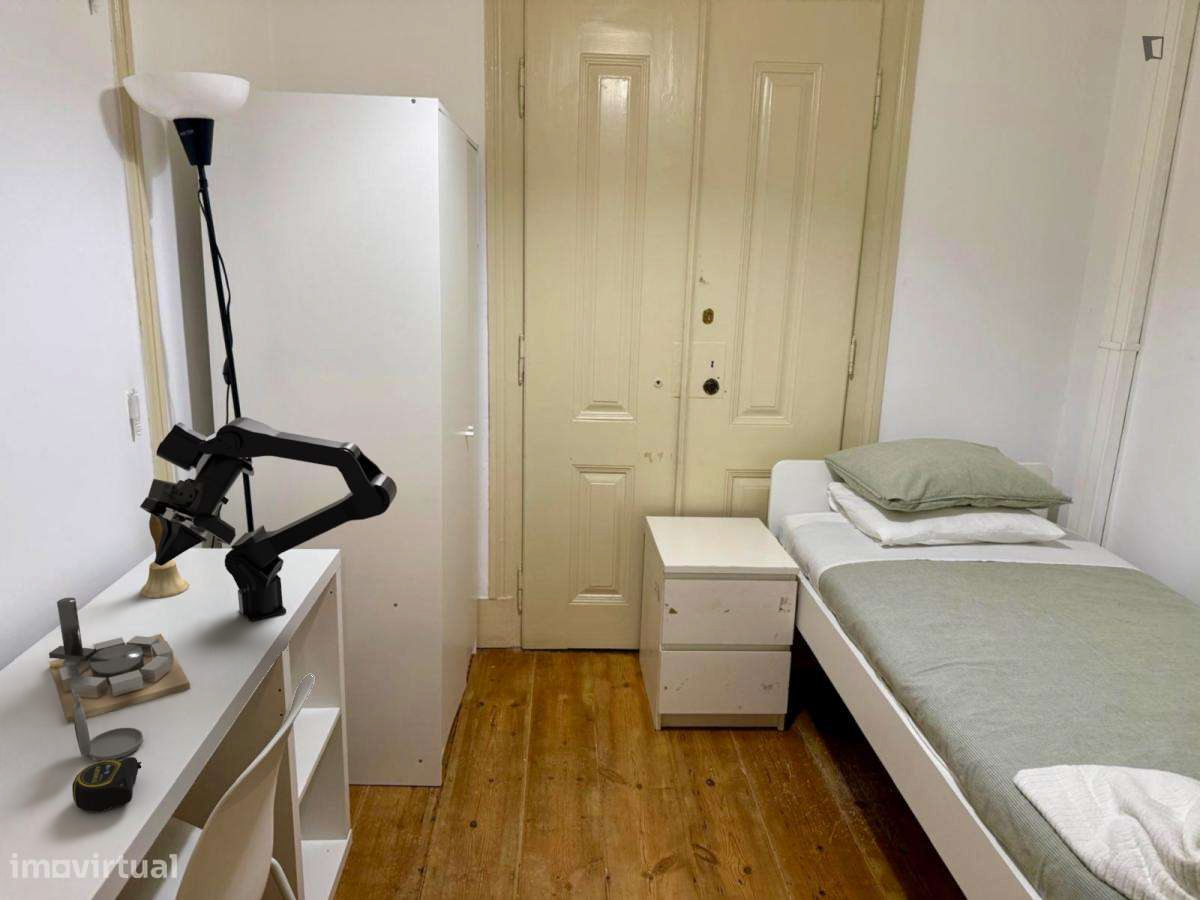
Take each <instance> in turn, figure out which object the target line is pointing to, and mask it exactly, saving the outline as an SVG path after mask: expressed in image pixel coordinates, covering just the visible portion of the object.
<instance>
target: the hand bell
mask: <svg viewBox="0 0 1200 900" xmlns="http://www.w3.org/2000/svg"><path fill="white" fill-rule="evenodd" d="M148 527H149V532H150V535H151V538H152V540H153V541H154V542H153V543H154V547H155V549H154V550H155V555H156V554H157V551H158V547H159V544H160V540H161V536H162V526H161V522H160V520H158V518H156V517H155V516H153V515H152V514H150V517H149V522H148ZM148 568H149V569H148V577H147V580H146V582H145V584H144V585H143V586H142V588H141V589H140V594H141V596H143V597H145V598H148V599H165V598H171V597H175V596H177V595H180V594H182V593H184V592H186V591H187V590H188V589H189V587H190V583H189V582H188V581H187V579H185V578H183V577H182V576H181V574H180V572H179V570H178V567H177V563H176V561H175V560H174V559H172V560H170V561H169V562H167V563H166V564H164V565H163V566H160V565H158V564H156V563H155V560H153V561H152V562H150V564H149V567H148Z"/></svg>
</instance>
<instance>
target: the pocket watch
mask: <svg viewBox="0 0 1200 900" xmlns="http://www.w3.org/2000/svg"><path fill="white" fill-rule="evenodd" d="M72 693H73V696H74V698H75V703H76V704H75V705H73V706H72V713H73V721H74V722H73V726H74V732H75V736H76V742H77V745H78V746H77V747H78V749H79V752H80V755H81V756H86V755H87V756H88V757H89V758H90V759H93V760H95V761H104V760H117V759H118V758H122V757H125V756H127V755H129V754H131V753H133V752H134V751H136V750H137V749H139V747H140V746H141V745H142V743H143V741H144V735H143V732H142V731H141V730H139V728H138V729H137V728H135V727H118V728H114V729H110V730H107V731H104V732H102V733H99V734H97V735H96V736H94V737H93V738H92V739H91V738H90V737H91V736H90V731H89V727H88V726H89V725H88V722H87V718H86V716H85V712H84V708H83V706H82V705H81V703H80V702H81V698H80V697H79V695H77V694H76V692H75V691H74V689H72Z"/></svg>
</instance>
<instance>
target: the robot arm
mask: <svg viewBox="0 0 1200 900" xmlns="http://www.w3.org/2000/svg"><path fill="white" fill-rule="evenodd" d="M217 430H218V431H216V432H214V433H212V434H210V435H209V436H205V435H203V434H202V433H200V432H197V431H195V430H193V429H192V428H190V427H189V426H188V425H187V424H184V423H183V422H177V423H175V424H174V425H173V426H172V429H171V430H170V431H169V432H168V433H167V434H166V436H165V437H164V439H163V440H162V441H160V443H159V445H158V447H157V449H156V456H157V457H159V458H160V459H163V460H165V461H167V463H168V462H169V463H170V464H172V465H175V466H176V467H178V468H180V469H182V470H184V471H186V472H190V471H192V469H195V470H199V469H200V468H201V469H200V470H199V471H198V473H197V474H196V476H195V478H193V479H192V478H186V479H185V480H183V479H182V480H181V479H179V480H178V481H177V483H176V482H171V481H167V480H163V479H157V478H153V479H152V481H151V484H150V485H151V486H150V489H149V491H148V494H147V497H145V499H144V500H143V502H142V503H141V504H140V506H139V508H141V509H142V510H144V511H145V512H147V514H150V515H151V514H152V515H153V516H155V517H156V518H158V520H160V522H161V526H162V536H161V540H160V544H159V547H158V551H157V554H156V553H155V559H154V561H155V563H156V564H158V565H160V566H163V565H164V564H166V563H167V562H169V561H170V560H174V559H175V558H177V557H179V556H180V555H181V554H183V553H185V552H187V551H188V550H190V549H192V548H193V547H196V546H197V545H199V544H201V543H206V542H207V540H208V539H207V538H205V537H206V536H207V533H210V534H211V535H212V536H214V537H216V539H217V541H218V542H219V543H222V544H224V545H228V546H230V548H231V549H230V550H229V551H228V553H226V554H225V558H224V562H223V563H224V567H225V569H226V571H227V572H228V573H229V574H230V575H231V576H232V578H233V580H234V582H235V584H236V586H237V588H238V589H237V597H238V598H237V599H238V608H239V612H240V613H241V614H242V615H243V616H245V618H246V619H247V620H248V621H249V622H255V621H258V620H261V619H262V620H263V619H266V618H270V617H274V616H279V615H282V614H285V613H287V609H286V608H285V606H284V605H283V603H284V602H283V592H282V578H281V577H280V576H279V575H278V574H279V572H281V571H282V568H283V566H284V562H285V561H284V559H282V557H280V555H282V554H283V553H285V552H287V551H290V550H291V549H294V548H295V547H299V546H300V545H301V544H305V543H306V542H308V541H310V540H312V539H315V538H317V537H319V536H320V535H324V534H325V533H327V532H329V531H331V530H333V529H335V528H337V527H340V526H341V525H344V524H346V523H348V522H354V521H362V520H367V519H372V518H374V517H378V516H381V515H382V514H384V513H386V511H387V510H388V509H389V508H390V506H391V504H392V503H393V502H394V499H395V498H396V495H397V493H398V488H397V483H396V482H395V481H394V480H393V478H392V477H390V476H388V475H386V474H385V473H384V472H383V471H382V470H381V469H380V467H379V466H378V465H377V464H376V463H375V462H374V461H373V460H371V459H370V458H369V457H368V456H367V455H365V454H364V452H363V451H362V449H360V447H359V446H358V445H356V444H355V443H354V442H341V441H338V440H337V441H335V440H331V439H325V438H321V437H319V438H318V437H313V436H309V435H302V434H296V433H290V432H285V431H281V430H277V429H274V428H272V427H271V426H270V425H268V424H265V423H264V422H260V421H259V420H255V419H252V418H249V417H245V416H244V417H242V416H241V417H236V418H234V419H233V420H232V421H230V422H228V423H226V424H225V425H223V426H221V427H220V428H219V429H217ZM209 455H210V456H209ZM259 457H260V458H262V457H274V458H275V457H276V458H281V459H286V460H293V461H298V462H304V463H308V464H315V465H321V466H327V467H333V468H337V471H339V472H340V474H341V477H342V478H343V479H344V482H345V483H346V486H347V487H348V490H349V491H350V492H349V493H347V494H346V495H345V496H343V497H342V498H341V499H339V500H336V501H334V502H332V503H330V504H328V505H325V506H323V507H322V508H319V509H317V510H316V511H313V512H311V513H309V514H307V515H306V516H303V517H301V518H298V519H297V520H294V521H293V522H290V523H288V524H287V525H285V526H282V527H280V528H279V529H276V530H270V531H269V530H268V531H266V527H265V525H263V524H262V525H261V526H259V527H258V528H257V529H255V530H253V531H250V532H245V533H244V534H242V536H240V537H239V538H238V539H237V540H236V541H235V542H234V543H233V541H234V540H235V538H236V536H237V535H236V533H237V532H236V528H235V527H234V526H232V525H231V524H229V523H228V522H226V521H225V520H223V519H222V518H220V517H219V516H217V515H214V514H215V512H216V511H217V509H218V507H219V506H220V505H227V504H228V503H229V500H230V499H228V498H227V497H226V496H227V494H228V492H230V490H231V488H232V487H233V485H234V484H235V482H236V481H237V479H238V477H240V475H241V473H242V472H243V473H244V474H247V475H248V476H250V477H253V476H255V469H254V467H253V458H259ZM207 458H208V459H207ZM202 465H203V466H202ZM232 543H233V544H232ZM231 544H232V545H231Z"/></svg>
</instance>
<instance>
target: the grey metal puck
mask: <svg viewBox="0 0 1200 900" xmlns="http://www.w3.org/2000/svg"><path fill="white" fill-rule="evenodd" d="M90 665H91V672H92V677H99V678H106V679H107V685H109V678H110V677H114V676H118V675H121V674H125V673H129V672H133V671H136V670H139V671H140V673H141V668H142V667H144V660H143V652H142V649H141V647H139V646H137V645H131V644H124V645H116V646H112V647H108V648H105V649H103V650H100V651H98V652H97V653H95V654H94V655H93V656H92V657H91V658H90Z"/></svg>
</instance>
